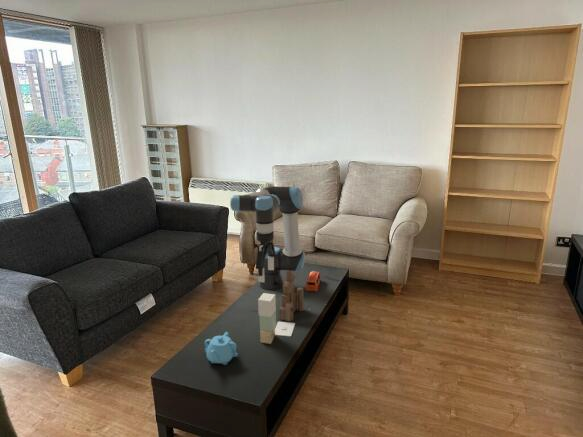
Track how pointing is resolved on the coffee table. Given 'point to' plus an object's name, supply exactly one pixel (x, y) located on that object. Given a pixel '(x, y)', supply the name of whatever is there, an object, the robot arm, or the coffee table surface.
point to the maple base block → (267, 336)
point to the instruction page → (284, 328)
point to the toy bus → (313, 281)
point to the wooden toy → (290, 298)
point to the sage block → (268, 322)
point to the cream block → (267, 304)
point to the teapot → (220, 349)
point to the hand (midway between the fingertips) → (266, 275)
